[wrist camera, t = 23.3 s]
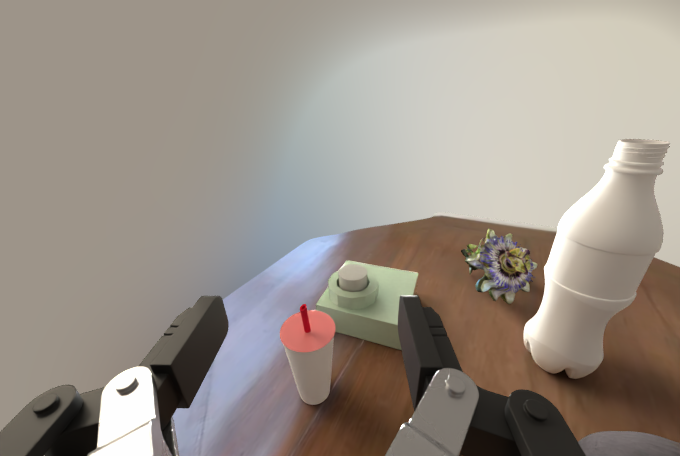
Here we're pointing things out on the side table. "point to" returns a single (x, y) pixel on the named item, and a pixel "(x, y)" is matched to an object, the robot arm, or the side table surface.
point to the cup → (310, 352)
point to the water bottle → (598, 260)
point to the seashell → (628, 444)
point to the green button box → (369, 304)
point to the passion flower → (501, 266)
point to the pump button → (352, 278)
